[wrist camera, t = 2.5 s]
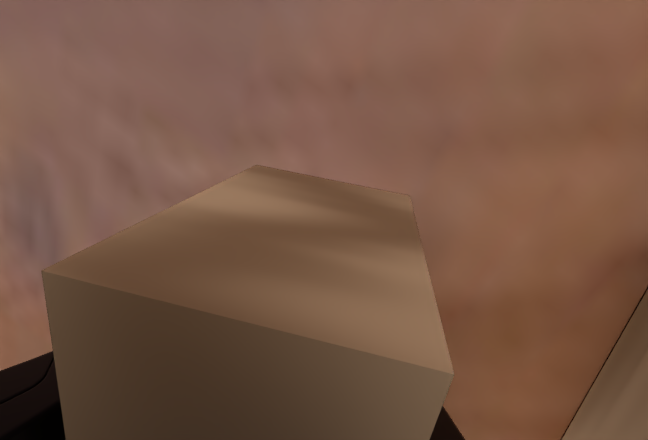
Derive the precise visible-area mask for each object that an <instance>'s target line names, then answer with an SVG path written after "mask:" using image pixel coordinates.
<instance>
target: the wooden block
mask: <svg viewBox="0 0 648 440" xmlns="http://www.w3.org/2000/svg"><path fill="white" fill-rule="evenodd" d="M42 278H43V285H44V292H45V299H46V306H47V313H48V320H49V327H50V334H51V341H52V348H53V354H54V361H55V368H56V375H57V382H58V389H59V396H60V403H61V410H62V417H63V424H64V431H65V438H66V440H430V437H431V434H432V432H433V429H434V426H435V424H436V421H437V419H438V416H439V413H440V411H441V408H442V405H443V403H444V400H445V398H446V395H447V392H448V390H449V387H450V384H451V382H452V379H453V376H454V371H453V367H452V363H451V359H450V355H449V351H448V347H447V343H446V339H445V335H444V331H443V327H442V323H441V319H440V315H439V311H438V307H437V303H436V299H435V295H434V291H433V287H432V283H431V279H430V275H429V271H428V267H427V263H426V259H425V255H424V251H423V247H422V243H421V239H420V235H419V231H418V227H417V223H416V219H415V215H414V211H413V207H412V203H411V199H410V196H409V195H404V194H399V193H394V192H389V191H384V190H379V189H374V188H369V187H364V186H359V185H354V184H349V183H344V182H339V181H334V180H329V179H324V178H319V177H314V176H309V175H304V174H299V173H294V172H289V171H284V170H279V169H274V168H269V167H264V166H259V165H255V166H253V167H251V168H249V169H247V170H245V171H243V172H241V173H239V174H237V175H235V176H233V177H231V178H229V179H227V180H225V181H223V182H221V183H219V184H217V185H215V186H212V187H210V188H208V189H206V190H204V191H202V192H200V193H198V194H196V195H194V196H192V197H190V198H188V199H186V200H184V201H182V202H180V203H178V204H176V205H174V206H172V207H170V208H168V209H166V210H164V211H162V212H160V213H158V214H156V215H154V216H152V217H149V218H147V219H145V220H143V221H141V222H139V223H137V224H135V225H133V226H131V227H129V228H127V229H125V230H123V231H121V232H119V233H117V234H115V235H113V236H111V237H109V238H107V239H105V240H103V241H101V242H99V243H97V244H95V245H93V246H91V247H89V248H86V249H84V250H82V251H80V252H78V253H76V254H74V255H72V256H70V257H68V258H66V259H64V260H62V261H60V262H58V263H56V264H54V265H52V266H50V267H48V268H46V269H44V270H42Z"/></svg>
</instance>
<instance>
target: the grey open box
mask: <svg viewBox="0 0 648 440" xmlns="http://www.w3.org/2000/svg"><path fill="white" fill-rule="evenodd" d="M562 440H648V289H647V291H646V293H645V295H644V296H643V298H642V300H641V302H640V303H639V305H638V307H637V309H636V310H635V312H634V314H633V316H632V317H631V319H630V321H629V323H628V324H627V326H626V328H625V330H624V331H623V333H622V335H621V337H620V338H619V340H618V342H617V344H616V345H615V347H614V349H613V351H612V352H611V354H610V356H609V358H608V359H607V361H606V363H605V365H604V366H603V368H602V370H601V372H600V373H599V375H598V377H597V379H596V380H595V382H594V384H593V386H592V387H591V389H590V391H589V393H588V394H587V396H586V398H585V400H584V401H583V403H582V405H581V407H580V408H579V410H578V412H577V414H576V415H575V417H574V419H573V421H572V422H571V424H570V426H569V428H568V429H567V431H566V433H565V435H564V436H563V438H562Z"/></svg>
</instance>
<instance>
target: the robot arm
mask: <svg viewBox="0 0 648 440" xmlns="http://www.w3.org/2000/svg"><path fill="white" fill-rule="evenodd" d="M0 440H66V438H65V431H64V424H63V417H62V410H61V403H60V396H59V389H58V382H57V375H56V368H55V361H54V354H53V351H52V352H49V353H47V354H44V355H42V356H39V357H36V358H34V359H31V360H28V361H26V362H23V363H20V364H18V365H15V366H12V367H9V368H7V369H4V370H1V371H0ZM430 440H465V439H464V437H463V436H462V434H461V433H460V431H459V430H458V428H457V427H456V425H455V424H454V422H453V421H452V419H451V418H450V416H449V415H448V413H447V411H446V410H445V408H444V407H443V405H442V408H441V411H440V413H439V416H438V419H437V421H436V424H435V426H434V429H433V432H432V434H431V437H430Z"/></svg>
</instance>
